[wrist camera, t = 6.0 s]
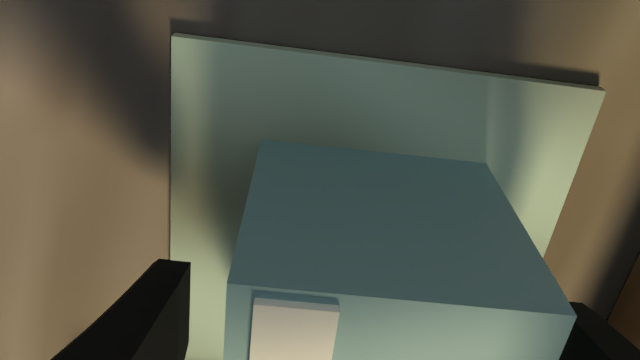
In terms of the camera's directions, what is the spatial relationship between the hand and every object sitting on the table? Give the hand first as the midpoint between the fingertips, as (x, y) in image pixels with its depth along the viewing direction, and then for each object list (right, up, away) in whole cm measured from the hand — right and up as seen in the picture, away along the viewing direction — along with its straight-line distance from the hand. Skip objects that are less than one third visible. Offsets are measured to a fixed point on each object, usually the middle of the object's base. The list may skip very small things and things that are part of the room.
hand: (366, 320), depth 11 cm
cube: (0, +1, +2) cm, 3 cm away
